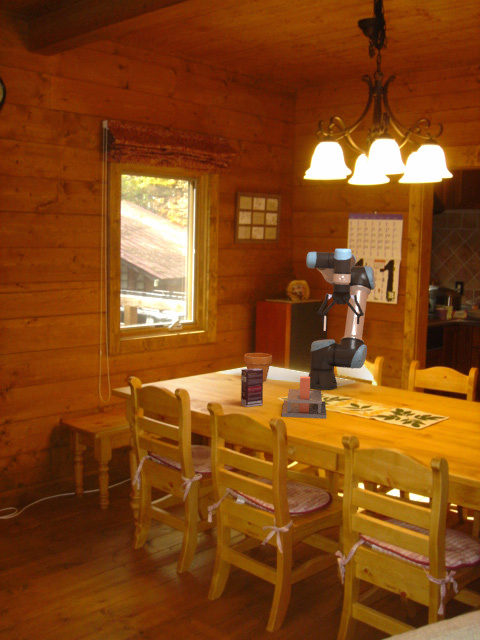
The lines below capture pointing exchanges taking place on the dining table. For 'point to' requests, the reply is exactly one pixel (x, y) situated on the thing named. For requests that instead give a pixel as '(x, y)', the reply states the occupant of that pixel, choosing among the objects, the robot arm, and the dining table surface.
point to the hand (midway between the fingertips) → (340, 331)
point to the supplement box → (252, 387)
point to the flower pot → (258, 362)
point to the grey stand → (315, 402)
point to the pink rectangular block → (304, 393)
